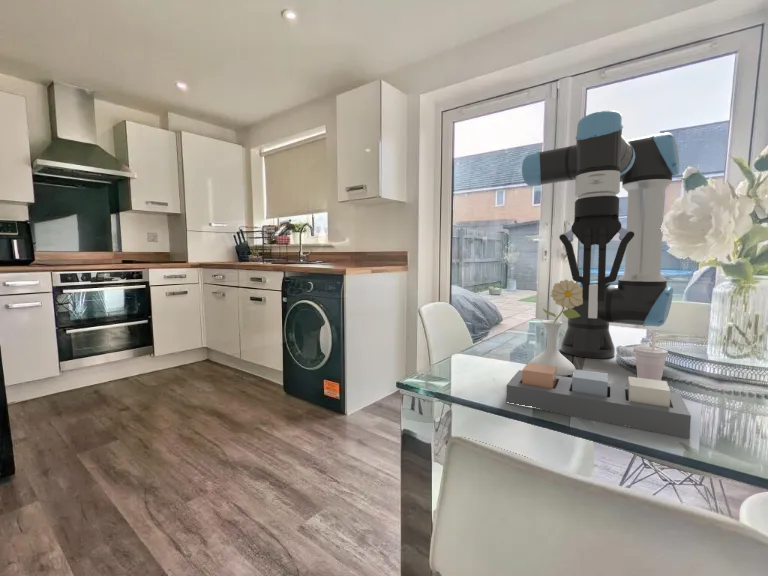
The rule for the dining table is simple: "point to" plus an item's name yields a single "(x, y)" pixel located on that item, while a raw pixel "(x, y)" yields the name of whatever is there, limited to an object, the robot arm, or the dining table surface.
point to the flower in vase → (566, 297)
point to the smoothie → (650, 360)
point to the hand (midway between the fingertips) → (592, 317)
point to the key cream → (648, 391)
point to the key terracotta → (539, 375)
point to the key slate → (590, 382)
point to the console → (603, 406)
